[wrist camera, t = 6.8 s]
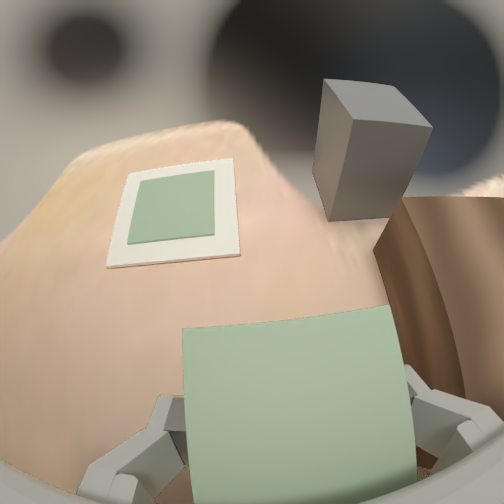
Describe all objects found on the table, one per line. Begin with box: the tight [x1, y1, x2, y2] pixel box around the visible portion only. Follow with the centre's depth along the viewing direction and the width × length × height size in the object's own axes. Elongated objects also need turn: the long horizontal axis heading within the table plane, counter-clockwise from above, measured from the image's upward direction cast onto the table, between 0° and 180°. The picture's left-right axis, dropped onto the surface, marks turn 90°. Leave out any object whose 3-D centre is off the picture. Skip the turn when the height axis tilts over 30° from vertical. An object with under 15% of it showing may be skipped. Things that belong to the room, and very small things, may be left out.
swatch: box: [106, 158, 240, 268], centre depth 19 cm, size 9×9×1 cm
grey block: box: [312, 79, 433, 222], centre depth 16 cm, size 5×5×8 cm
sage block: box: [182, 304, 417, 504], centre depth 8 cm, size 5×5×8 cm
